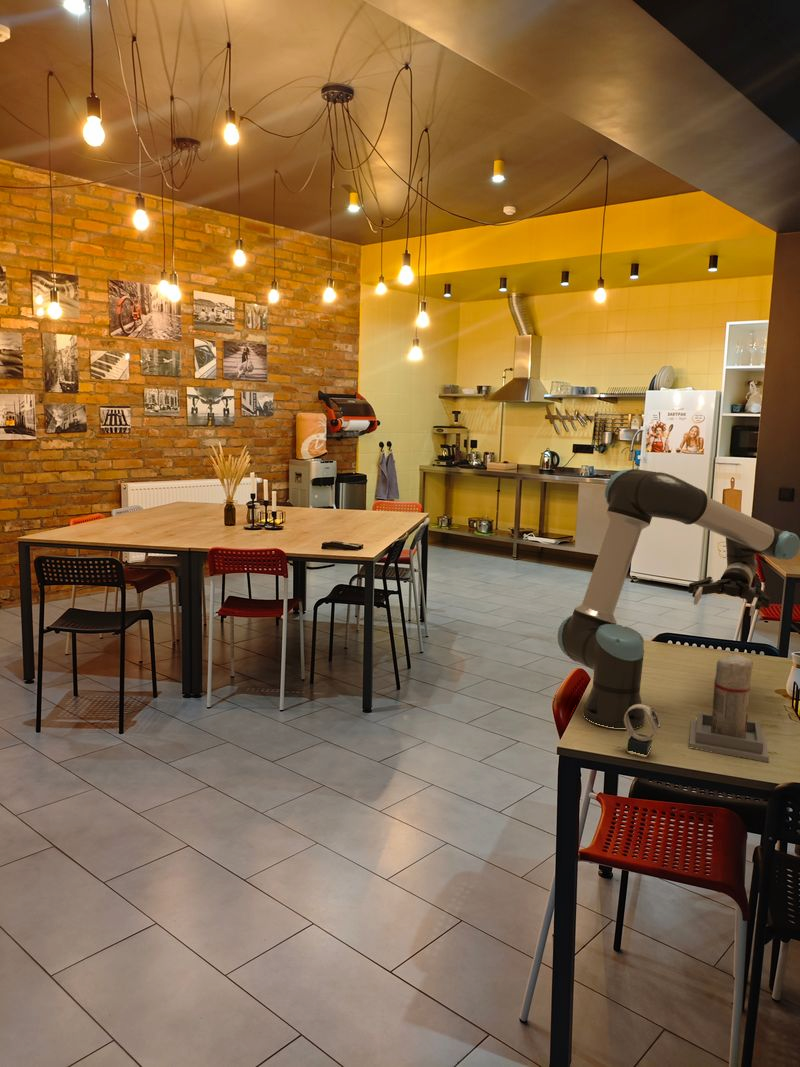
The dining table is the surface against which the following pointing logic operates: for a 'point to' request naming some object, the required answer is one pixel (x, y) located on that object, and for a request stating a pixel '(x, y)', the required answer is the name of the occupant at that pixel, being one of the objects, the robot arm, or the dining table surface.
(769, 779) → the dining table surface
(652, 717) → the watch
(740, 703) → the beige textured cylinder
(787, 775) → the dining table surface
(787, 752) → the dining table surface
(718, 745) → the holder dock
